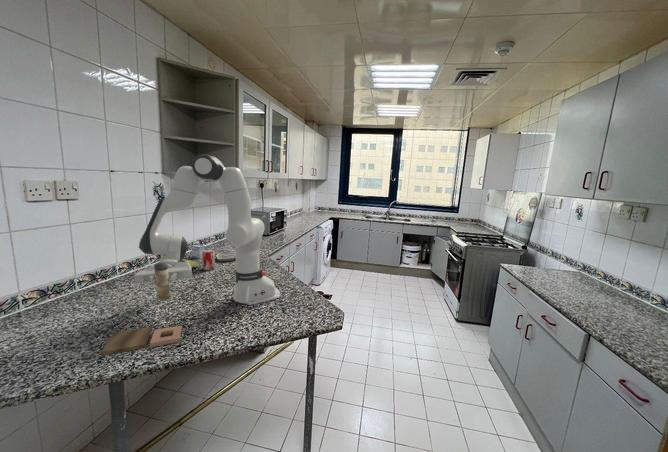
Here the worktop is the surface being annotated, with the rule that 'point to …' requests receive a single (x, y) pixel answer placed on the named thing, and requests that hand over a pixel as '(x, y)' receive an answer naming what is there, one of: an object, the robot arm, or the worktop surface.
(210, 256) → the soda can
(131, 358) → the worktop surface
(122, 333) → the walnut board
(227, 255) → the brain slice
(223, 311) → the worktop surface
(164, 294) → the beech tool handle
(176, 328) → the frame
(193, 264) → the frozen beans
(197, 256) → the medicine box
